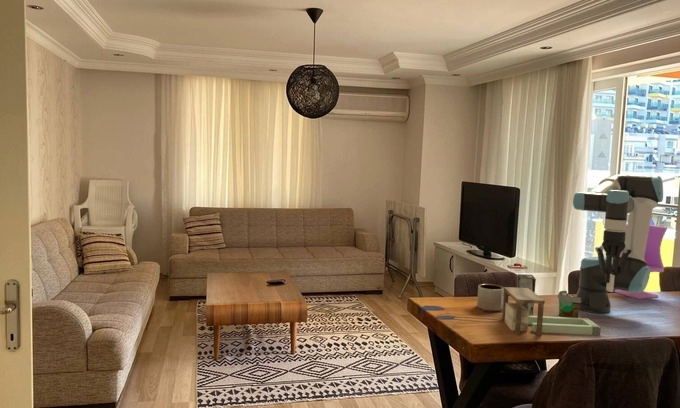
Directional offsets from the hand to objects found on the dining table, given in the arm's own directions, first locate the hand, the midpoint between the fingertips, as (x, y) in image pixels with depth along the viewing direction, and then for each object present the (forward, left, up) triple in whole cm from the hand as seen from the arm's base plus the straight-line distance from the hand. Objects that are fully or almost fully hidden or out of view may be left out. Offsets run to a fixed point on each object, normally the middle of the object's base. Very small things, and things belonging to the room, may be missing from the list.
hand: (609, 291), depth 208 cm
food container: (+10, -16, -16) cm, 25 cm away
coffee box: (+26, -19, -16) cm, 36 cm away
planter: (+39, -25, -16) cm, 49 cm away
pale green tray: (+17, 0, -16) cm, 24 cm away
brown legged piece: (+33, 0, -16) cm, 36 cm away
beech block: (+35, 0, -16) cm, 38 cm away
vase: (-43, -62, -16) cm, 77 cm away
